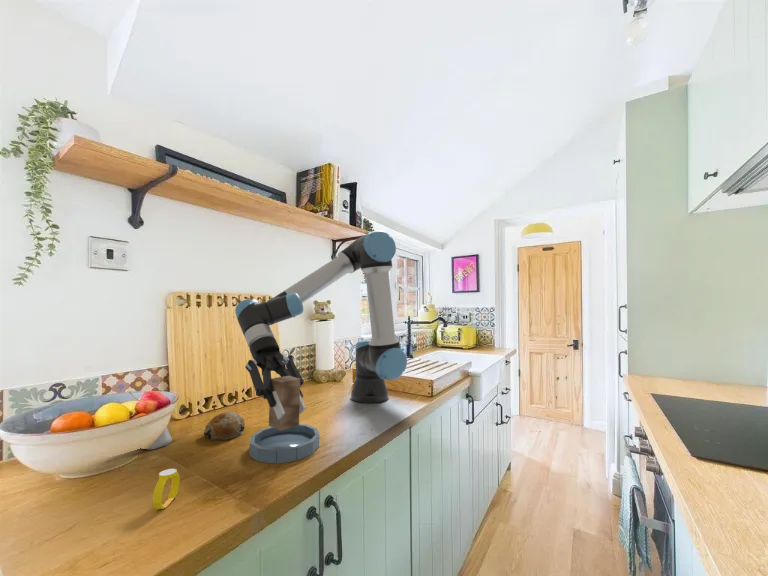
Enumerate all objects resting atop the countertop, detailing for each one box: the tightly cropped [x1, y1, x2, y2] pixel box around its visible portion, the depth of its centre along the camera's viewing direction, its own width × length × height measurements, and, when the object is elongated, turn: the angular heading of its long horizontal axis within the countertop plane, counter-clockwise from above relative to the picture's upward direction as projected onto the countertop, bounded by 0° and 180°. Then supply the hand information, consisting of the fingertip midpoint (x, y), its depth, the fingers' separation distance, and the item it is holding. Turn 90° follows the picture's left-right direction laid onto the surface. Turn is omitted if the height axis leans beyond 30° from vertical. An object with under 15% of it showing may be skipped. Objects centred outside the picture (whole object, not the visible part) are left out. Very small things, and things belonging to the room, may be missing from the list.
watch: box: [152, 468, 181, 510], centre depth 60 cm, size 6×3×6 cm, turn 4°
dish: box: [249, 423, 320, 464], centre depth 84 cm, size 17×17×3 cm
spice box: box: [268, 376, 301, 431], centre depth 84 cm, size 6×6×12 cm
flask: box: [147, 427, 173, 450], centre depth 85 cm, size 7×7×10 cm
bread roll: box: [203, 411, 246, 442], centre depth 92 cm, size 10×10×8 cm
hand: (292, 413), depth 82 cm, fingers closed on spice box, 5 cm apart
